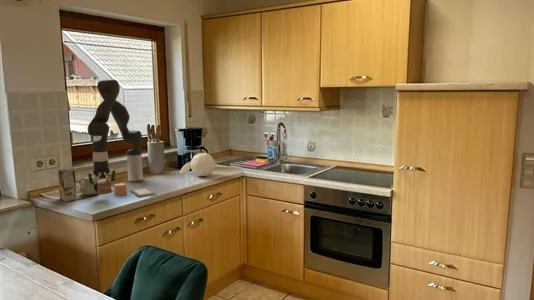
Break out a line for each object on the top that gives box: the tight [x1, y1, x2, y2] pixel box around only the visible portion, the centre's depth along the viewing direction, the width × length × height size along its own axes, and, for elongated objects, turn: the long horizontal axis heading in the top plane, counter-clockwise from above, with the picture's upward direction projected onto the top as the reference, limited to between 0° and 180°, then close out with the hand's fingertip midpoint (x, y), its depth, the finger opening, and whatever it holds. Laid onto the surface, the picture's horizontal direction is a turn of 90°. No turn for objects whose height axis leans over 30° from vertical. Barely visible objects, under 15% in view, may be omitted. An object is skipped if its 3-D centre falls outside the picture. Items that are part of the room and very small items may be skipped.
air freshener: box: [79, 176, 97, 196], centre depth 232 cm, size 11×8×10 cm
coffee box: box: [57, 168, 77, 202], centre depth 222 cm, size 9×6×16 cm
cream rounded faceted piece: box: [179, 152, 216, 177], centre depth 283 cm, size 16×22×28 cm
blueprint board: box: [129, 187, 157, 198], centre depth 236 cm, size 17×10×1 cm, turn 35°
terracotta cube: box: [113, 182, 128, 196], centre depth 235 cm, size 6×6×6 cm
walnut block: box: [94, 178, 112, 196], centre depth 220 cm, size 10×6×6 cm, turn 39°
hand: (102, 189), depth 220 cm, fingers closed on walnut block, 6 cm apart
